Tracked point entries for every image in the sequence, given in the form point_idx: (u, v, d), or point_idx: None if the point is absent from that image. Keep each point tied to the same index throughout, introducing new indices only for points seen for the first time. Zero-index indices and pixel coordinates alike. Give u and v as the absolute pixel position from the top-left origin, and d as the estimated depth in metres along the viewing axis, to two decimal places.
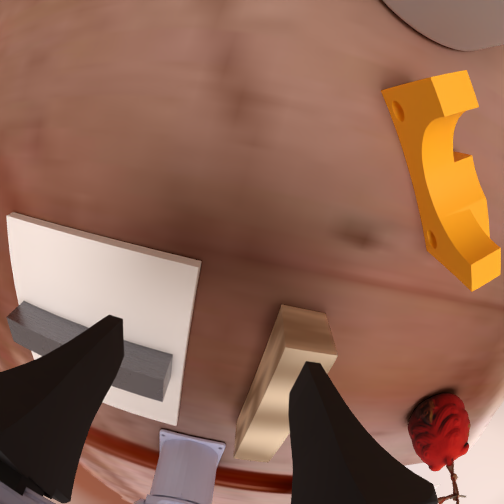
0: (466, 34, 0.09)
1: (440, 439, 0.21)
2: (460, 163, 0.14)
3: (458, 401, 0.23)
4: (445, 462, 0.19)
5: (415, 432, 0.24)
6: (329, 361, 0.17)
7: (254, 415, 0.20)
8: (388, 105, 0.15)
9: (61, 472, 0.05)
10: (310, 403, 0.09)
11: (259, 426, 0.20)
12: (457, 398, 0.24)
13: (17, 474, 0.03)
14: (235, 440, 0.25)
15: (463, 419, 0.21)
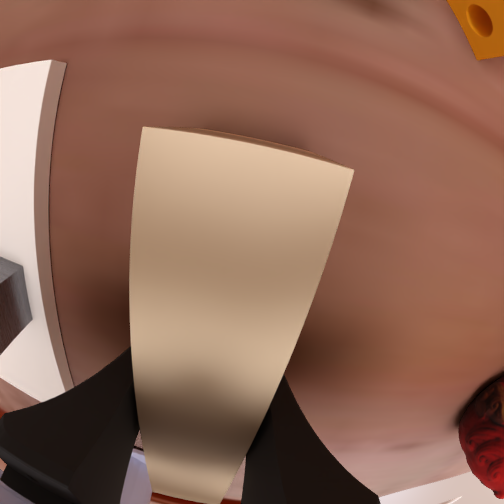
0: None
1: None
2: None
3: None
4: None
5: (476, 440, 0.11)
6: (325, 200, 0.05)
7: None
8: None
9: (113, 495, 0.05)
10: None
11: (162, 442, 0.08)
12: None
13: None
14: None
15: None
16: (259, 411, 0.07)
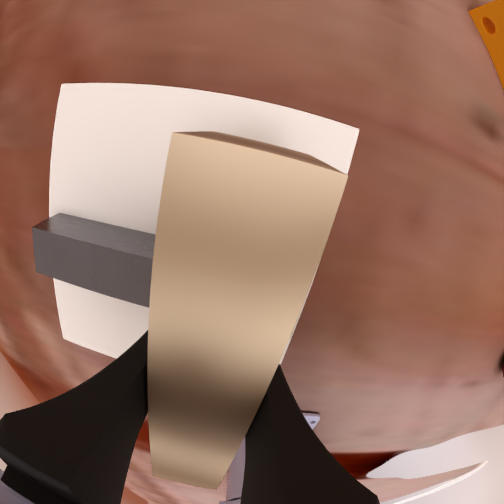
0: None
1: None
2: None
3: None
4: None
5: None
6: (323, 200, 0.06)
7: None
8: (476, 23, 0.10)
9: (114, 495, 0.05)
10: None
11: (169, 421, 0.09)
12: None
13: None
14: None
15: None
16: (261, 388, 0.08)
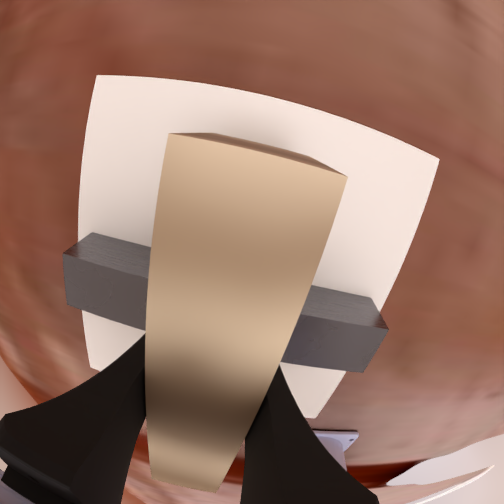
0: None
1: None
2: None
3: None
4: None
5: None
6: (322, 202, 0.06)
7: None
8: None
9: (114, 495, 0.05)
10: None
11: (167, 425, 0.09)
12: None
13: None
14: None
15: None
16: (259, 392, 0.08)
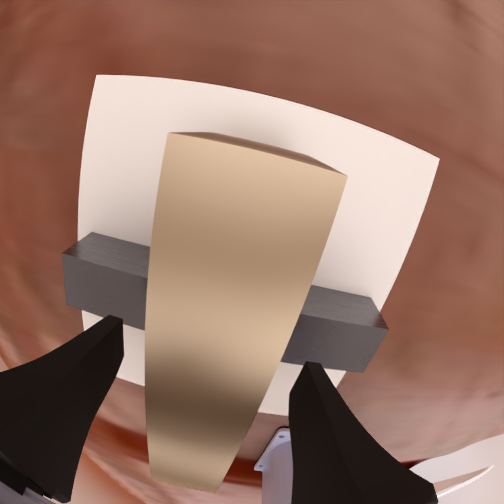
0: None
1: None
2: None
3: None
4: None
5: None
6: (322, 201, 0.06)
7: None
8: None
9: (61, 472, 0.05)
10: (310, 403, 0.09)
11: (167, 425, 0.09)
12: None
13: (17, 474, 0.03)
14: None
15: None
16: (259, 392, 0.08)
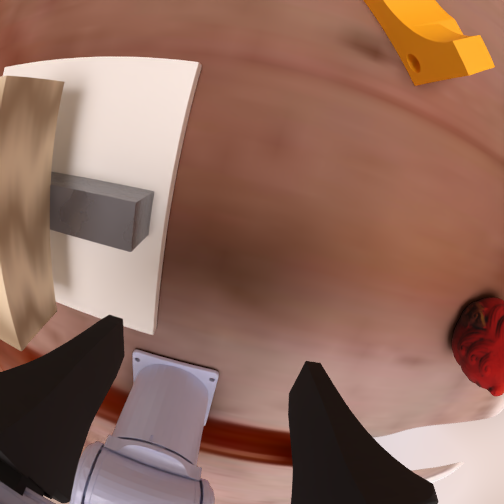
0: None
1: (500, 344, 0.16)
2: None
3: None
4: None
5: (465, 344, 0.19)
6: (0, 88, 0.08)
7: None
8: None
9: (61, 472, 0.05)
10: (310, 403, 0.09)
11: None
12: None
13: (17, 474, 0.03)
14: None
15: None
16: None
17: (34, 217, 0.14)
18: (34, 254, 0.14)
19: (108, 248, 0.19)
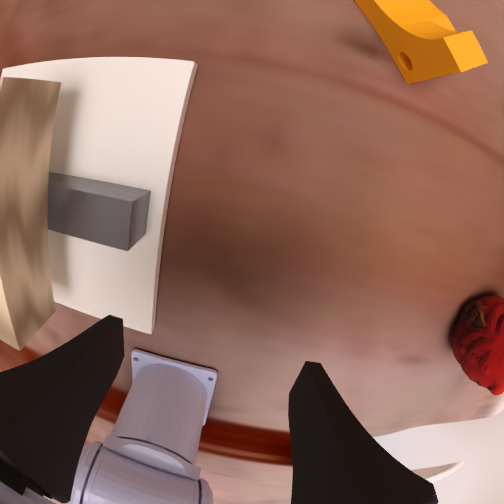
0: None
1: (500, 343, 0.16)
2: None
3: None
4: None
5: (465, 342, 0.19)
6: None
7: None
8: None
9: (61, 472, 0.05)
10: (310, 403, 0.09)
11: None
12: None
13: (17, 474, 0.03)
14: None
15: None
16: None
17: (32, 217, 0.14)
18: (32, 254, 0.14)
19: (106, 248, 0.19)
